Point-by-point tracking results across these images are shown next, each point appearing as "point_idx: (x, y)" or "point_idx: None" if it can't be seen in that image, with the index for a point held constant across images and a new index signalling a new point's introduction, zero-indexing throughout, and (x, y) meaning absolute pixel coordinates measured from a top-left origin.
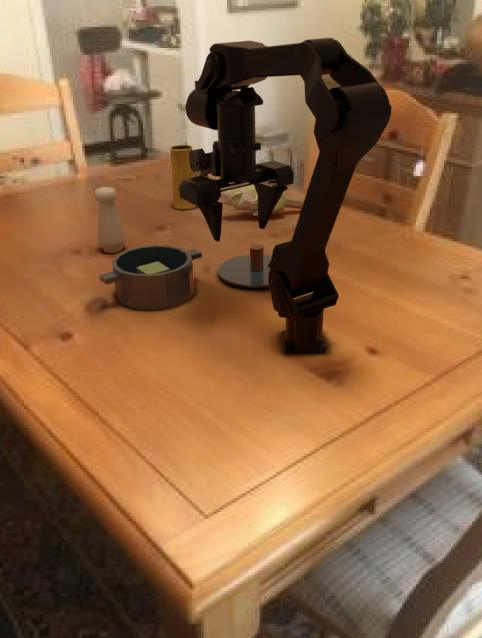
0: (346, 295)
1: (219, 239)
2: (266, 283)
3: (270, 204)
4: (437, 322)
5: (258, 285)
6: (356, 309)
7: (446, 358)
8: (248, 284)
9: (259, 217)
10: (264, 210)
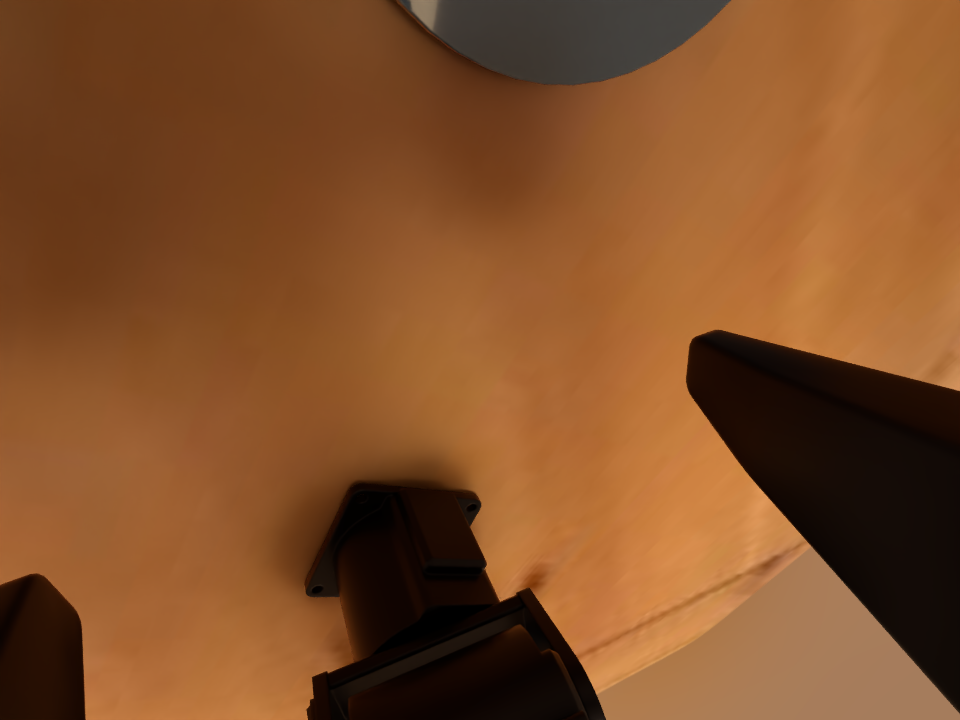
0: (725, 280)
1: (73, 652)
2: (524, 57)
3: (944, 692)
4: (751, 490)
5: (470, 57)
6: (668, 384)
7: (635, 611)
8: (421, 5)
9: (780, 412)
10: (867, 545)
